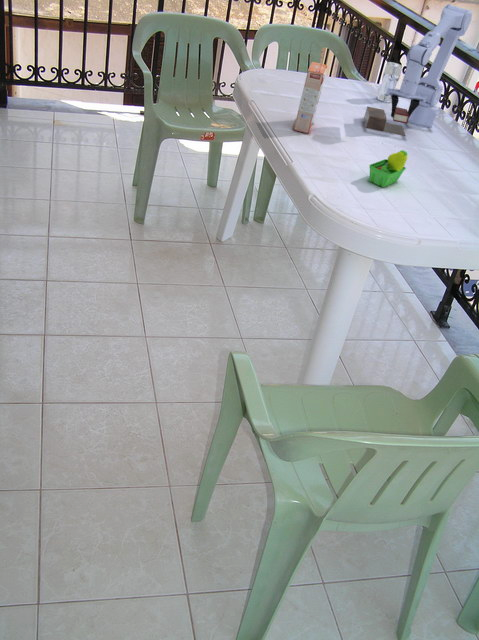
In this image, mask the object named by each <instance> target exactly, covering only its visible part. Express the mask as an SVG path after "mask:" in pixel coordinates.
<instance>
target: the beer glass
mask: <svg viewBox="0 0 479 640" xmlns="http://www.w3.org/2000/svg"><path fill="white" fill-rule="evenodd" d="M402 69H403V65H402V64H400V63H397V62H393V61H387V62H386V65H385V67H384V71H383V74H382V78H381V86H380V91H379V94H378V95H377V100H378V101H380V102H383V103H392V100H391V95H386V91H387V88H389V89H396V86H397V85H398V83H399V80H400V79H401V74H402Z"/></svg>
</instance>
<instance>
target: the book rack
mask: <svg viewBox="0 0 479 640" xmlns="http://www.w3.org/2000/svg"><path fill="white" fill-rule="evenodd" d="M363 120H364V125H365V126H364V127H365V128H366V129H369V130H372V131H373V130H374V131H379V132H382V133H387V134H393V135H397V136H402V137H407V136H406V132H405V129H404V127H403V125H401V124H400V125H398V124H394V123H390V122H387V121H388V118H387V115H386V112H385V109H382V108H377V107H372V106H366V108H365V112H364V116H363Z"/></svg>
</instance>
